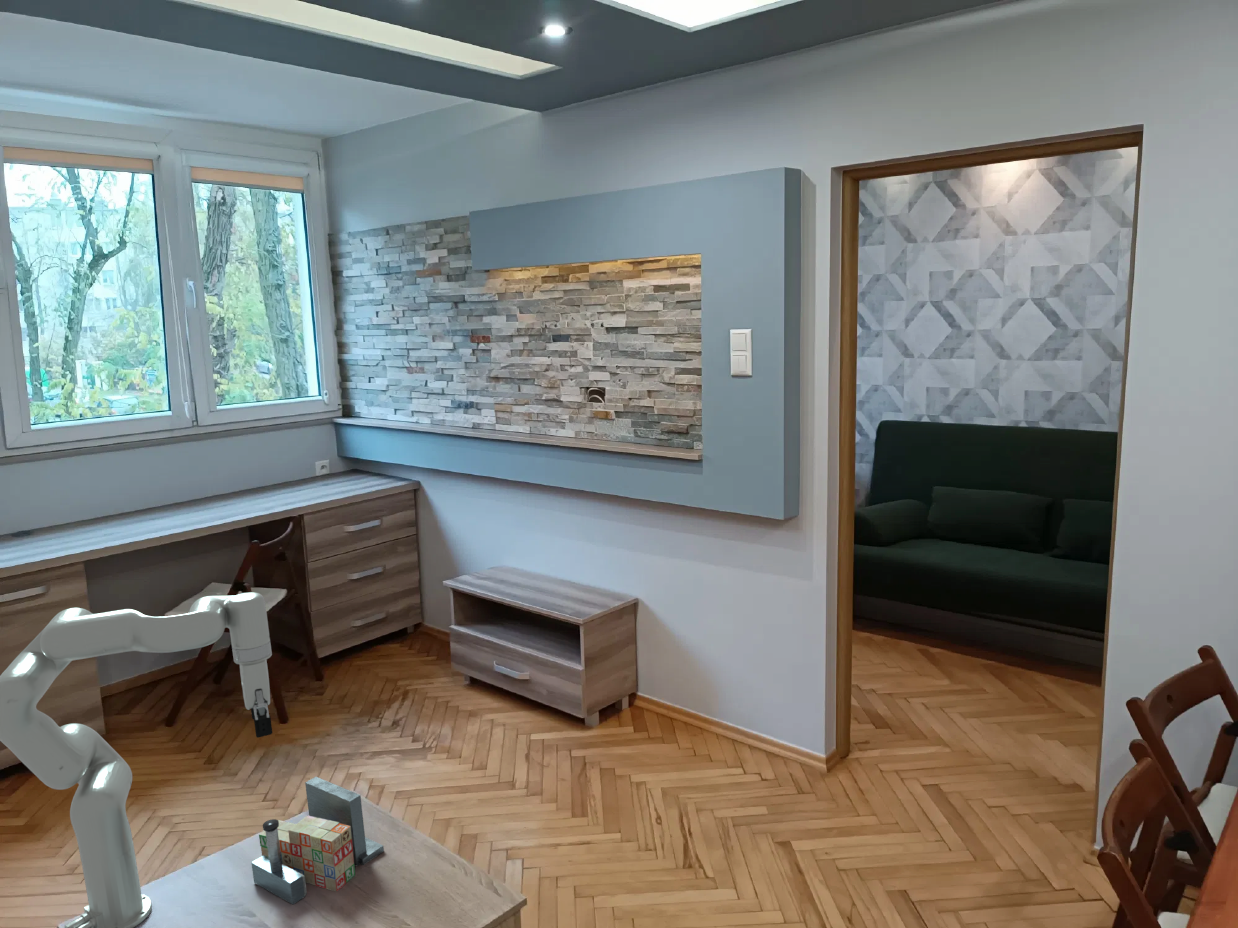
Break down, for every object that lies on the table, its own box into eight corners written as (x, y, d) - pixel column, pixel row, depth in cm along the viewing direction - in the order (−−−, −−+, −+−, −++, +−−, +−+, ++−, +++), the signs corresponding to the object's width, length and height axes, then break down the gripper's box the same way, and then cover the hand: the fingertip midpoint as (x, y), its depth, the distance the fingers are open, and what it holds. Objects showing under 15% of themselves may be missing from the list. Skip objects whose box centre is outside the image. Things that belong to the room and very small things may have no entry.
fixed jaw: (357, 868, 199) (350, 803, 196) (308, 844, 209) (300, 782, 206) (384, 851, 205) (377, 787, 202) (334, 828, 215) (327, 767, 212)
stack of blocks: (263, 871, 200) (256, 821, 198) (283, 855, 206) (277, 806, 204) (337, 892, 191) (331, 840, 189) (356, 874, 197) (351, 824, 195)
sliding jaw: (292, 904, 188) (283, 836, 185) (253, 882, 196) (244, 817, 193) (306, 894, 190) (298, 828, 188) (268, 873, 198) (259, 809, 196)
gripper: (230, 642, 194) (240, 715, 197) (235, 669, 178) (246, 747, 181) (266, 635, 197) (276, 706, 200) (275, 660, 182) (285, 738, 185)
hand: (262, 726), depth 191 cm, fingers open, 9 cm apart
